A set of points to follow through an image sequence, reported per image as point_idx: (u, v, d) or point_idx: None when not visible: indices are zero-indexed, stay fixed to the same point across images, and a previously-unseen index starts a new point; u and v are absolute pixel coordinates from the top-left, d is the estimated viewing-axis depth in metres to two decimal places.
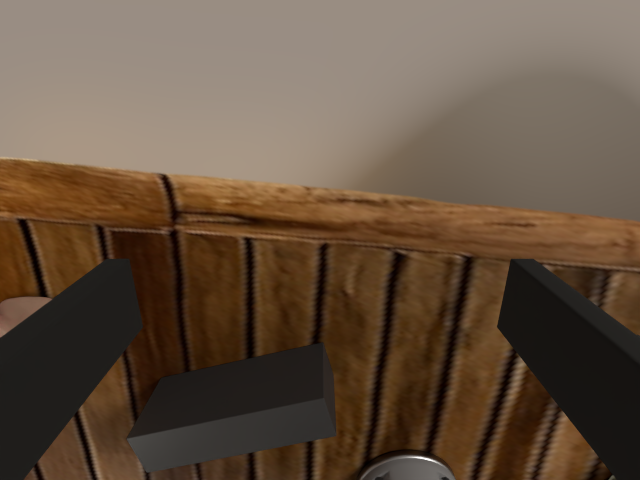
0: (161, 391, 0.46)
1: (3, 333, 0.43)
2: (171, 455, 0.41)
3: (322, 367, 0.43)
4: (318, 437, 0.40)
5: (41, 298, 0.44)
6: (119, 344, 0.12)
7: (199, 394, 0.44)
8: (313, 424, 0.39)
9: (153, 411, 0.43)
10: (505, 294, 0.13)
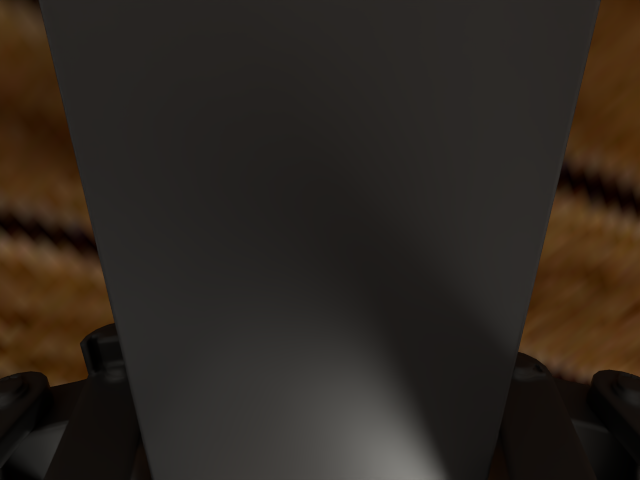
0: None
1: None
2: None
3: None
4: None
5: None
6: None
7: None
8: None
9: None
10: None
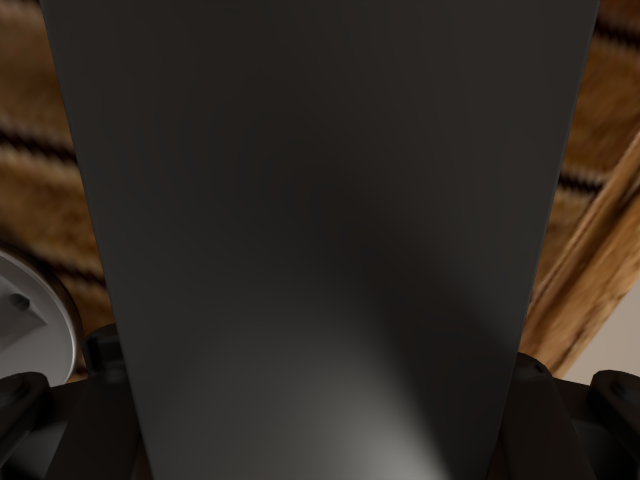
0: None
1: None
2: None
3: None
4: None
5: None
6: None
7: None
8: None
9: None
10: None
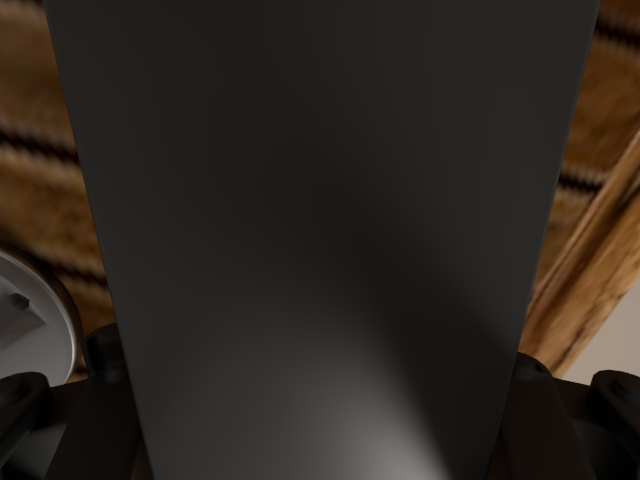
0: None
1: None
2: None
3: None
4: None
5: None
6: None
7: None
8: None
9: None
10: None
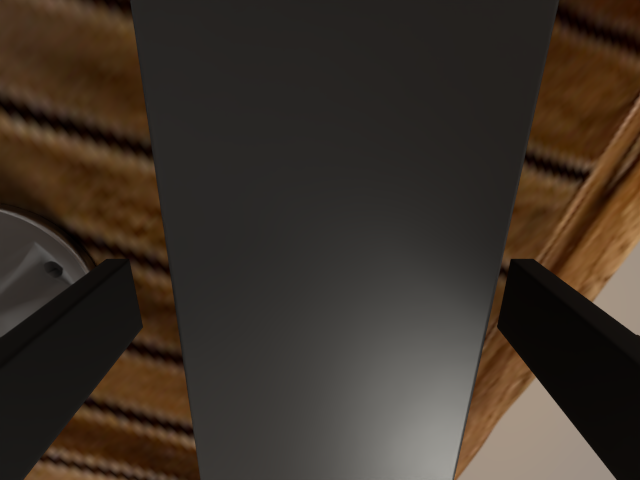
0: None
1: None
2: None
3: None
4: (213, 474, 0.08)
5: None
6: (119, 344, 0.12)
7: None
8: (306, 477, 0.08)
9: None
10: (505, 294, 0.13)
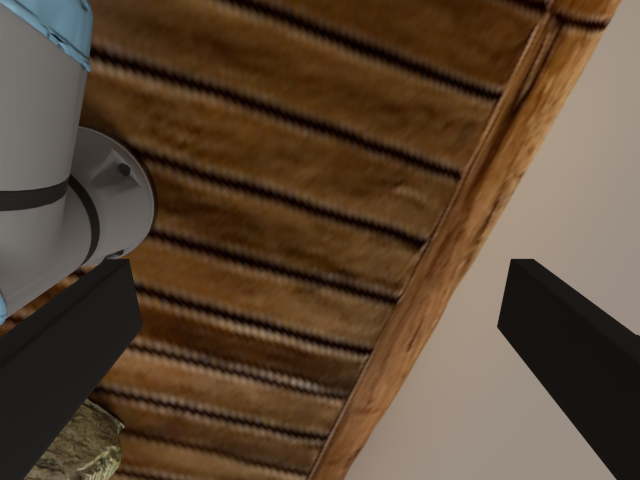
0: None
1: None
2: None
3: None
4: None
5: None
6: (119, 344, 0.12)
7: None
8: None
9: None
10: (505, 294, 0.13)
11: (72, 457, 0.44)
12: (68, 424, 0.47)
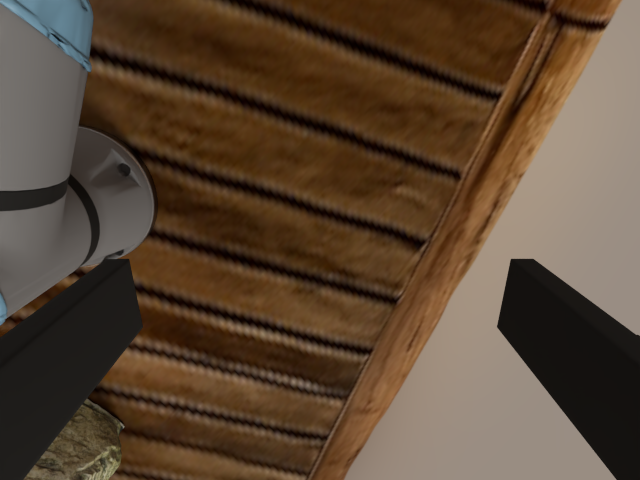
0: None
1: None
2: None
3: None
4: None
5: None
6: (119, 344, 0.12)
7: None
8: None
9: None
10: (505, 294, 0.13)
11: (72, 457, 0.44)
12: (68, 424, 0.47)
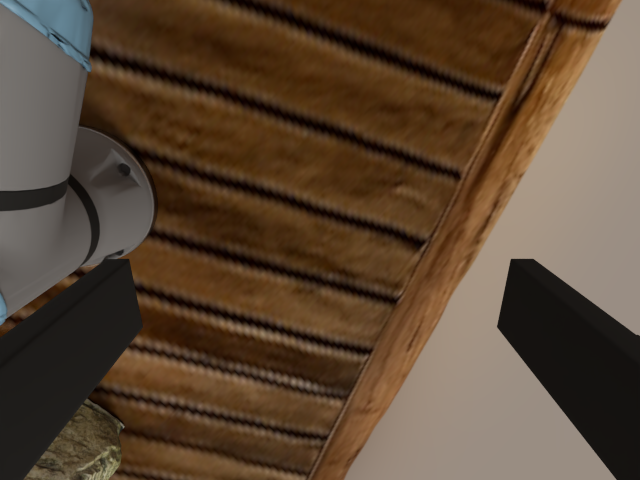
0: None
1: None
2: None
3: None
4: None
5: None
6: (119, 344, 0.12)
7: None
8: None
9: None
10: (505, 294, 0.13)
11: (72, 457, 0.44)
12: (68, 424, 0.47)
